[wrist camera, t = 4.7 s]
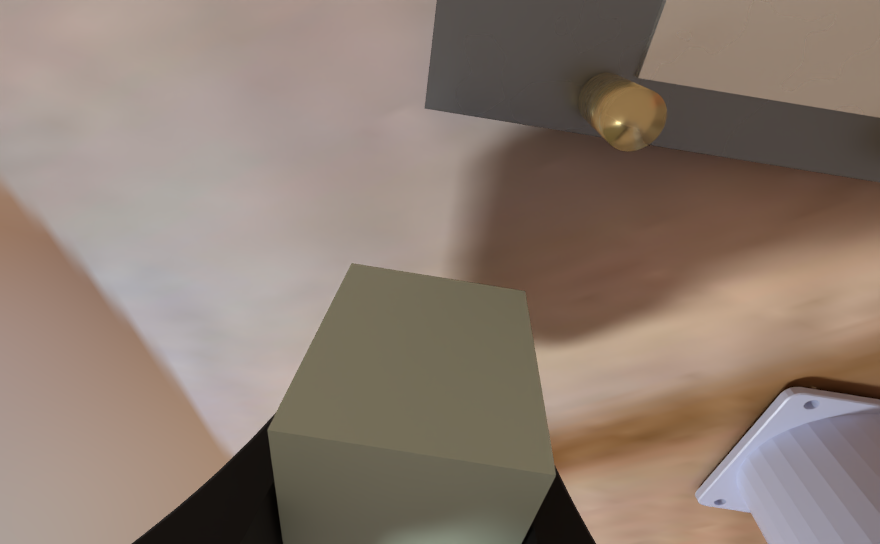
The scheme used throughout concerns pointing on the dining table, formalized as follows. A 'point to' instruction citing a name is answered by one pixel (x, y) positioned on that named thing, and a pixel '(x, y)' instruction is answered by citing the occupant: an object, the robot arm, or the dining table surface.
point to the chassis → (673, 74)
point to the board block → (414, 417)
